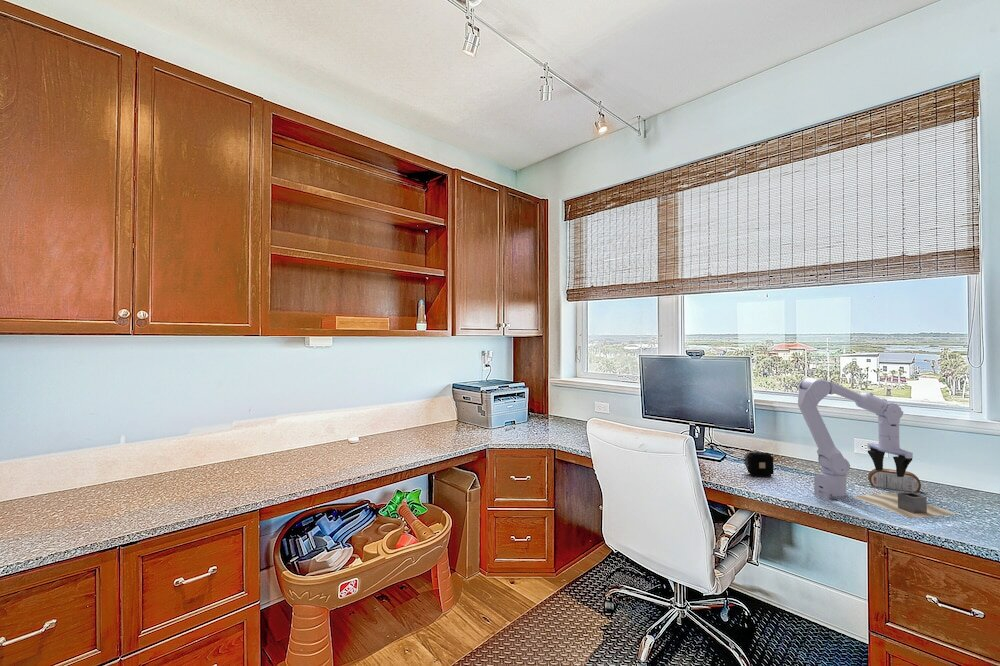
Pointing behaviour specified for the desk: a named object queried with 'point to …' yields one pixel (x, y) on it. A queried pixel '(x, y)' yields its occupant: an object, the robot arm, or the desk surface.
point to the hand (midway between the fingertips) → (889, 473)
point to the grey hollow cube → (912, 502)
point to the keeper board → (891, 503)
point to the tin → (894, 480)
